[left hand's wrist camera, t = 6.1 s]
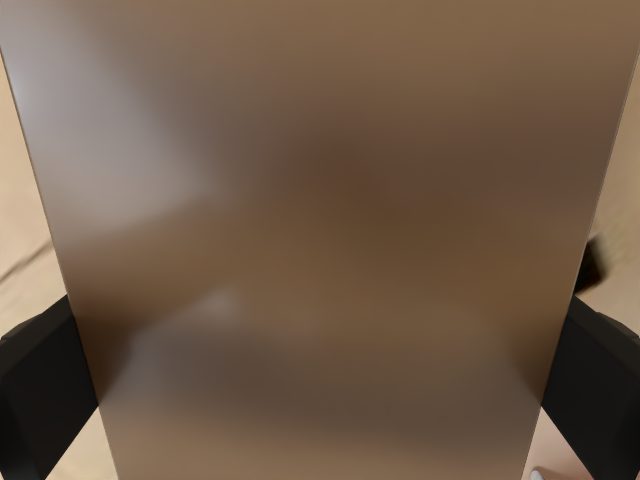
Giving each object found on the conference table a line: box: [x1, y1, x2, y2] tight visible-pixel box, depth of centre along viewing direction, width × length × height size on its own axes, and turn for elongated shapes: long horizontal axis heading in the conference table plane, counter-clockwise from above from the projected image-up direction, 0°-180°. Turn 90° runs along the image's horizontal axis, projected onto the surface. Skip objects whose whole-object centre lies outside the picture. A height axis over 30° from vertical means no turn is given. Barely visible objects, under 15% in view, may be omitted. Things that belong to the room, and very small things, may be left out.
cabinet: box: [0, 0, 640, 480], centre depth 11 cm, size 20×11×8 cm, turn 0°
